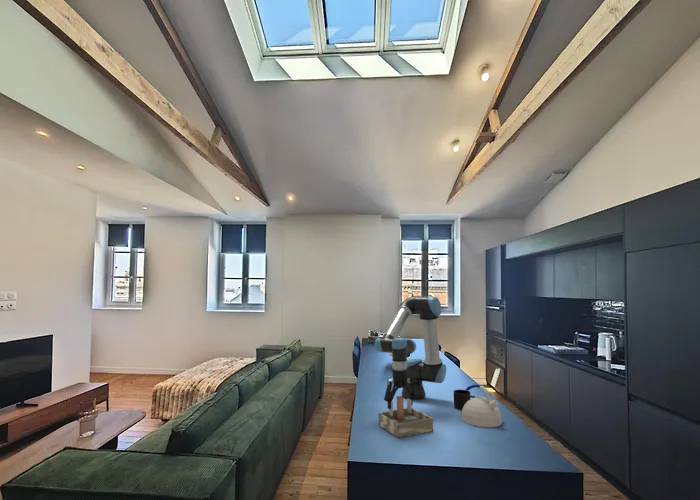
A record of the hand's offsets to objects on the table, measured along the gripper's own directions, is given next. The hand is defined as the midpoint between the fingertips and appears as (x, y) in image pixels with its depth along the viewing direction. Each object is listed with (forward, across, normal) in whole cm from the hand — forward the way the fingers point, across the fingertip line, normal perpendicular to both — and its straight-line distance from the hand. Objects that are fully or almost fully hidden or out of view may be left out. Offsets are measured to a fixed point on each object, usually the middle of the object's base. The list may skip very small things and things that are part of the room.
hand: (400, 413), depth 193 cm
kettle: (+6, +42, -13) cm, 44 cm away
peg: (+6, 0, 0) cm, 6 cm away
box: (+6, 0, -4) cm, 7 cm away
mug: (+6, +49, +7) cm, 50 cm away
